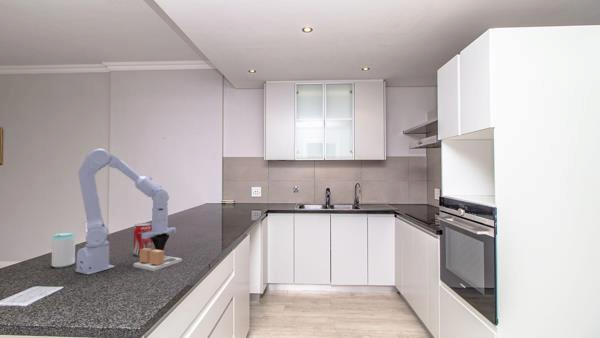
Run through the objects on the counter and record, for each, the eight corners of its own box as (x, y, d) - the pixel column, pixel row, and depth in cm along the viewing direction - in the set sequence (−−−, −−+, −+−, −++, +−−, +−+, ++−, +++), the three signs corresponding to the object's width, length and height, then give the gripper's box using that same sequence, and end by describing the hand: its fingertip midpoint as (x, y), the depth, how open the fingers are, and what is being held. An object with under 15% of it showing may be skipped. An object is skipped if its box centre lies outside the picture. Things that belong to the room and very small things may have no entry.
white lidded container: (62, 268, 114) (62, 236, 114) (46, 267, 115) (46, 235, 115) (79, 263, 120) (79, 232, 121) (64, 262, 122) (64, 231, 122)
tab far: (146, 262, 116) (146, 250, 116) (139, 261, 118) (139, 248, 118) (153, 260, 119) (153, 248, 119) (146, 259, 120) (146, 247, 120)
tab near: (157, 264, 114) (157, 251, 114) (149, 263, 115) (149, 250, 115) (163, 262, 116) (164, 249, 116) (156, 261, 118) (156, 248, 118)
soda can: (155, 252, 137) (155, 222, 137) (145, 256, 130) (145, 225, 130) (140, 251, 138) (140, 222, 138) (129, 256, 131) (129, 225, 131)
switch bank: (153, 271, 111) (153, 267, 111) (133, 266, 116) (133, 263, 116) (181, 261, 123) (181, 258, 123) (162, 258, 128) (162, 254, 128)
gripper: (151, 222, 115) (150, 259, 115) (181, 217, 128) (181, 250, 128) (138, 221, 118) (138, 256, 118) (169, 216, 131) (168, 248, 131)
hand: (159, 253), depth 124 cm, fingers closed
